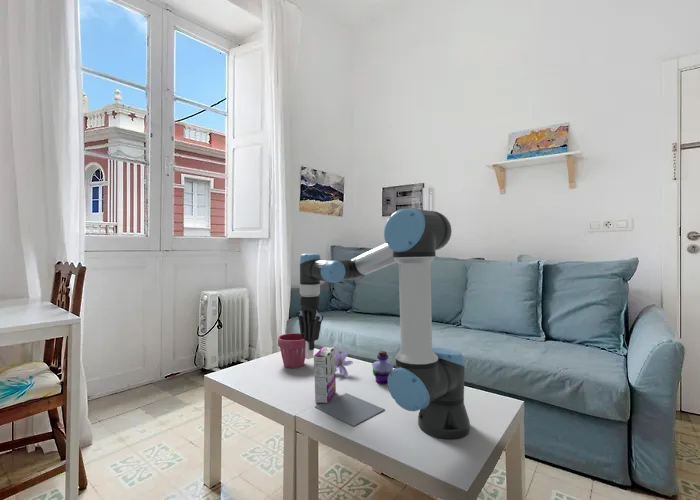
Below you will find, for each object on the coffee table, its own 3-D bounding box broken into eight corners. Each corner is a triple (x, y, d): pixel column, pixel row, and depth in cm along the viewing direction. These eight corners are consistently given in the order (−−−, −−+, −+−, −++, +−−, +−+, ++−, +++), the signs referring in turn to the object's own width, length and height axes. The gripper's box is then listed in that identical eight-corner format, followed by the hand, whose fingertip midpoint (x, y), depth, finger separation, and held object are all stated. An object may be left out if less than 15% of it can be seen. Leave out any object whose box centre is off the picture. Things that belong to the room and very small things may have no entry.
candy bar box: (323, 390, 133) (322, 346, 133) (336, 391, 132) (335, 347, 132) (314, 403, 122) (313, 355, 122) (328, 404, 121) (327, 355, 121)
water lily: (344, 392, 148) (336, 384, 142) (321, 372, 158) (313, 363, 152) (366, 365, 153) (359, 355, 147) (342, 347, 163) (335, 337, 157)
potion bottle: (367, 380, 143) (367, 350, 143) (383, 375, 148) (383, 347, 148) (381, 387, 136) (382, 356, 136) (398, 382, 142) (398, 352, 141)
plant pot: (299, 357, 172) (299, 331, 171) (315, 365, 161) (315, 337, 161) (272, 363, 163) (272, 335, 162) (287, 372, 152) (287, 342, 152)
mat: (384, 410, 118) (384, 409, 118) (353, 426, 107) (353, 425, 107) (346, 393, 131) (346, 393, 131) (314, 407, 120) (314, 406, 120)
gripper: (329, 296, 131) (328, 359, 132) (306, 292, 140) (306, 351, 141) (313, 298, 126) (312, 364, 126) (291, 294, 135) (290, 356, 135)
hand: (309, 357), depth 133 cm, fingers closed
